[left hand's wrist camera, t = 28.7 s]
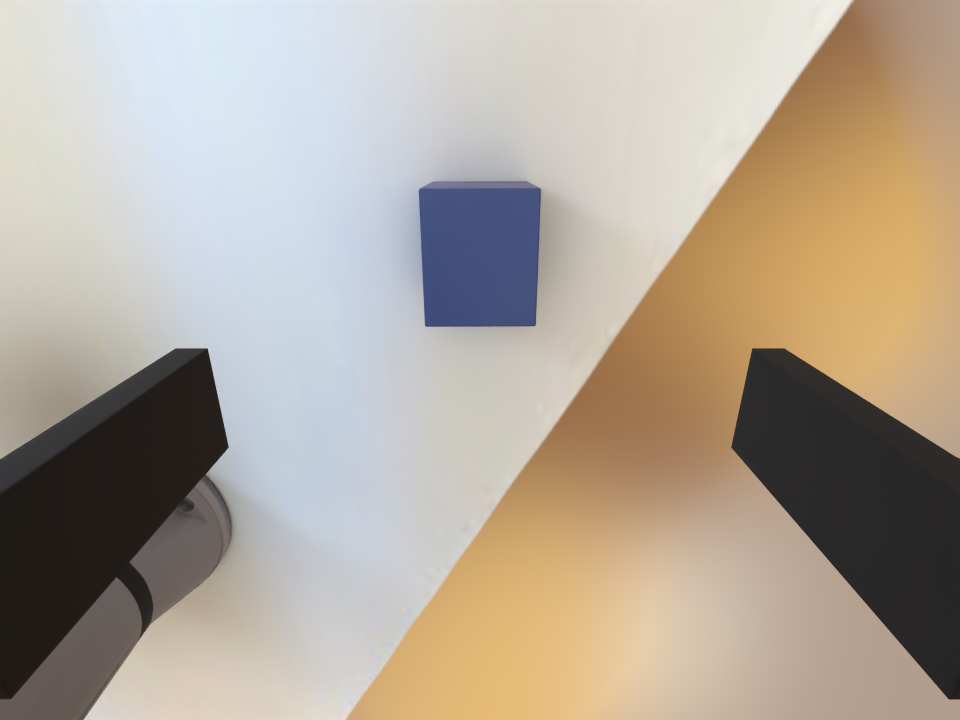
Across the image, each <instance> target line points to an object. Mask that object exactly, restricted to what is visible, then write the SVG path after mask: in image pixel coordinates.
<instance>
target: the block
mask: <svg viewBox="0 0 960 720" xmlns="http://www.w3.org/2000/svg"><path fill="white" fill-rule="evenodd" d="M540 201H541V189H540V188H538V187H536V186H535V185H533V184H531V183H529V182H432V183H430V184H428V185H426V186H424V187H422V188H420V189H419V205H420V227H421V248H422V270H423V292H424V313H425V326H427V327H449V326H535V325H536V305H537V279H538V253H539V227H540Z"/></svg>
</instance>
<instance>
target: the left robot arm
mask: <svg viewBox="0 0 960 720" xmlns="http://www.w3.org/2000/svg"><path fill="white" fill-rule="evenodd" d="M228 448H229V447H228V442H227V437H226V433H225V428H224V423H223V419H222V414H221V409H220V404H219V400H218V395H217V390H216V386H215V381H214V376H213V372H212V367H211V362H210V357H209V353H208V349H174V350H173V351H171V352H170V353H168V354H166V355H165V356H163V357H162V358H160V359H158V360H157V361H155V362H154V363H152V364H151V365H149V366H147V367H146V368H144V369H143V370H141V371H139V372H138V373H136V374H135V375H133V376H132V377H130V378H128V379H127V380H125V381H124V382H122V383H120V384H119V385H117V386H116V387H114V388H113V389H111V390H109V391H108V392H106V393H105V394H103V395H101V396H100V397H98V398H97V399H95V400H94V401H92V402H90V403H89V404H87V405H86V406H84V407H82V408H81V409H79V410H78V411H76V412H75V413H73V414H71V415H70V416H68V417H67V418H65V419H63V420H62V421H60V422H59V423H57V424H56V425H54V426H52V427H51V428H49V429H48V430H46V431H45V432H43V433H41V434H40V435H38V436H37V437H35V438H33V439H32V440H30V441H29V442H27V443H26V444H24V445H22V446H21V447H19V448H18V449H16V450H14V451H13V452H11V453H10V454H8V455H7V456H5V457H3V458H2V459H0V720H84V718H85V717H86V715H87V714H88V713H89V711H90V710H91V708H92V707H93V705H94V704H95V703H96V701H97V700H98V698H99V697H100V695H101V694H102V692H103V691H104V690H105V688H106V687H107V685H108V684H109V682H110V681H111V680H112V678H113V677H114V675H115V674H116V672H117V671H118V670H119V668H120V667H121V665H122V664H123V662H124V661H125V659H126V658H127V657H128V655H129V654H130V652H131V651H132V649H133V648H134V647H135V645H136V643H137V642H138V641H139V639H140V638H141V636H142V635H143V633H144V632H145V631H146V629H147V628H148V627H149V625H150V624H151V623H152V622H153V621H154V620H156V619H157V618H158V617H160V616H161V615H162V614H163V613H165V612H166V611H167V610H168V609H170V608H171V607H172V606H174V605H175V604H176V603H177V602H179V601H180V600H181V599H182V598H184V597H185V596H186V595H187V594H189V593H190V592H191V591H192V590H194V589H195V588H197V587H198V586H199V585H200V584H201V583H203V582H204V581H205V579H206V578H208V577H209V576H210V574H211V573H212V572H213V571H214V569H215V568H216V566H217V565H218V563H219V562H220V560H221V559H222V557H223V556H224V554H225V552H226V550H227V548H228V545H229V541H230V535H231V525H230V518H229V514H228V511H227V508H226V506H225V503H224V501H223V500H222V498H221V496H220V494H219V493H218V491H217V490H216V489H215V487H214V486H213V485H212V484H211V482H210V481H209V480H208V479H207V478H206V477H205V476H204V475H205V474H206V473H207V472H208V471H209V470H210V468H211V467H212V466H213V465H214V464H215V463H216V461H217V460H218V459H219V458H220V457H221V456H222V455H223V453H224V452H225V451H226V450H227V449H228ZM732 449H733V450H734V451H735V452H736V453H737V455H738V456H739V457H740V458H741V459H742V460H743V461H744V463H745V464H746V465H747V466H748V467H749V468H750V470H751V471H752V472H753V473H754V474H755V475H756V477H757V478H758V479H759V480H760V481H761V482H762V483H763V485H764V486H765V487H766V488H767V489H768V490H769V492H770V493H771V494H772V495H773V496H774V497H775V499H776V500H777V501H778V502H779V503H780V504H781V506H782V507H783V508H784V509H785V510H786V511H787V512H788V514H789V515H790V516H791V517H792V518H793V519H794V521H795V522H796V523H797V524H798V525H799V526H800V527H801V529H802V530H803V531H804V532H805V533H806V534H807V536H808V537H809V538H810V539H811V540H812V541H813V543H814V544H815V545H816V546H817V547H818V548H819V550H820V551H821V552H822V553H823V554H824V555H825V556H826V558H827V559H828V560H829V561H830V562H831V563H832V565H833V566H834V567H835V568H836V569H837V570H838V572H839V573H840V574H841V575H842V576H843V577H844V578H845V580H846V581H847V582H848V583H849V584H850V585H851V587H852V588H853V589H854V590H855V591H856V592H857V594H858V595H859V596H860V597H861V598H862V599H863V600H864V602H865V603H866V604H867V605H868V606H869V607H870V609H871V610H872V611H873V612H874V613H875V614H876V616H877V617H878V618H879V619H880V620H881V621H882V622H883V624H884V625H885V626H886V627H887V628H888V629H889V631H890V632H891V633H892V634H893V635H894V636H895V637H896V639H897V640H898V641H899V642H900V643H901V644H902V646H903V647H904V648H905V649H906V650H907V651H908V653H909V654H910V655H911V656H912V657H913V658H914V659H915V661H916V662H917V663H918V664H919V665H920V666H921V668H922V669H923V670H924V671H925V672H926V673H927V675H928V676H929V677H930V678H931V679H932V680H933V682H934V683H935V684H936V685H937V686H938V687H939V688H940V690H941V691H942V692H943V693H944V694H945V695H946V697H947V698H948V699H960V458H957V457H955V456H953V455H952V454H950V453H949V452H947V451H946V450H944V449H942V448H941V447H939V446H938V445H936V444H934V443H933V442H931V441H930V440H928V439H926V438H925V437H923V436H922V435H920V434H919V433H917V432H915V431H914V430H912V429H911V428H909V427H908V426H906V425H904V424H903V423H901V422H900V421H898V420H897V419H895V418H893V417H892V416H890V415H889V414H887V413H885V412H884V411H882V410H881V409H879V408H878V407H876V406H874V405H873V404H871V403H870V402H868V401H866V400H865V399H863V398H862V397H860V396H859V395H857V394H855V393H854V392H852V391H851V390H849V389H847V388H846V387H844V386H843V385H841V384H839V383H838V382H836V381H835V380H833V379H832V378H830V377H828V376H827V375H825V374H824V373H822V372H821V371H819V370H817V369H816V368H814V367H813V366H811V365H809V364H808V363H806V362H805V361H803V360H802V359H800V358H798V357H797V356H795V355H794V354H792V353H790V352H789V351H787V350H786V349H752V353H751V358H750V362H749V367H748V372H747V376H746V381H745V386H744V390H743V395H742V400H741V405H740V409H739V414H738V419H737V423H736V428H735V433H734V437H733V442H732Z"/></svg>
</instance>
